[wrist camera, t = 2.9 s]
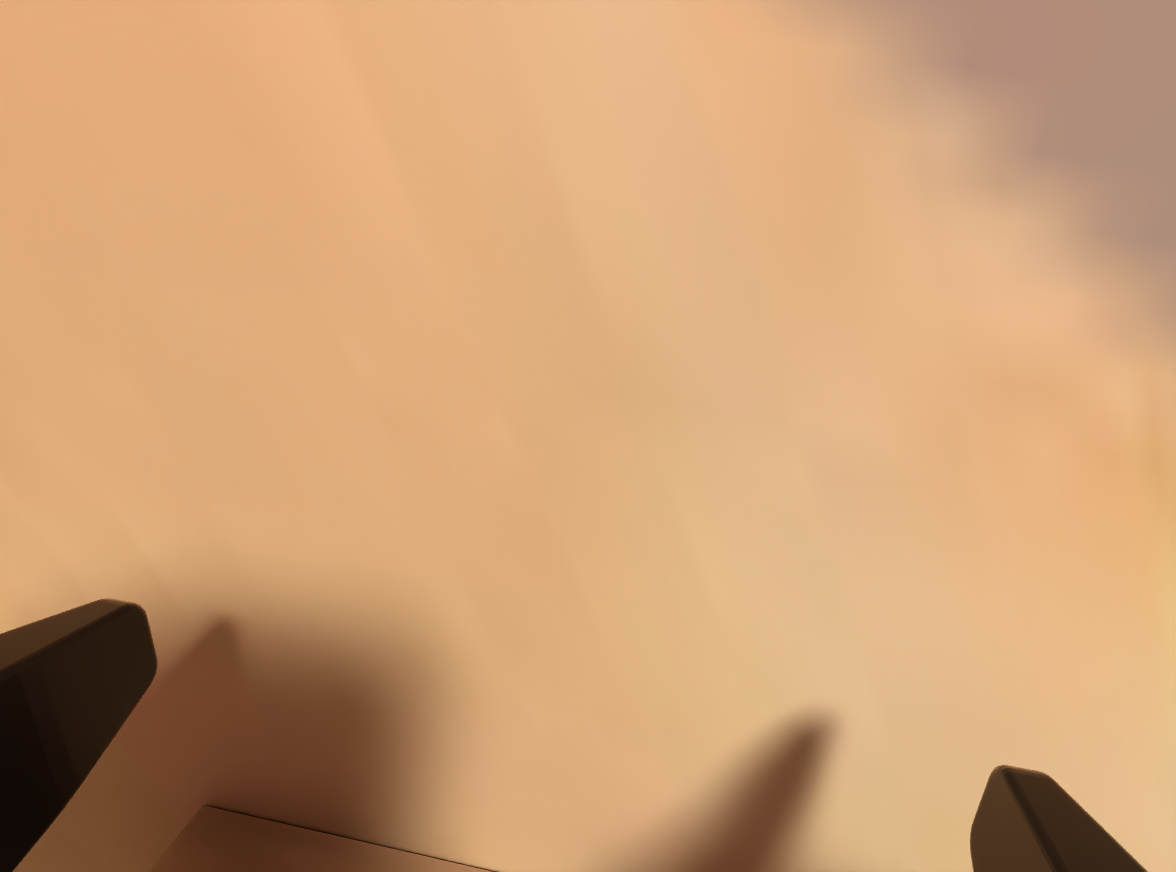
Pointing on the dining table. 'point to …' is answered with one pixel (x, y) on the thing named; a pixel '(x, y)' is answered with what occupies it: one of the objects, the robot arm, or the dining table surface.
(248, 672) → the dining table surface
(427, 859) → the board
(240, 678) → the dining table surface
